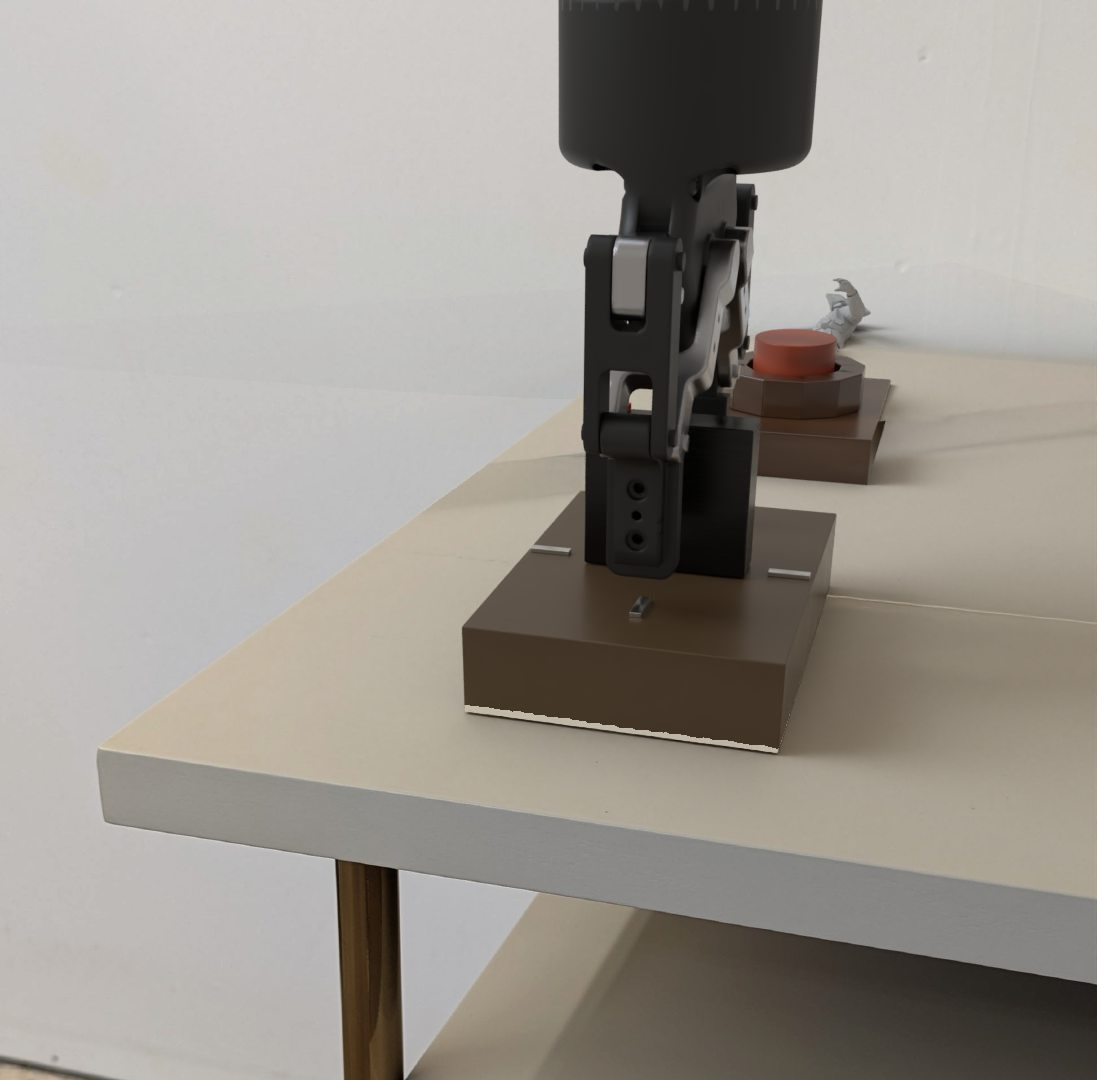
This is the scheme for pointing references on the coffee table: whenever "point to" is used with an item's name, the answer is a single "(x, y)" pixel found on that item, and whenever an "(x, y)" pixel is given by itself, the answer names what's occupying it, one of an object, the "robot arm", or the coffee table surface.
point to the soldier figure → (842, 313)
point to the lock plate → (654, 634)
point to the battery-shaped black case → (697, 496)
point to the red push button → (794, 352)
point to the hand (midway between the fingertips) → (669, 530)
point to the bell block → (813, 421)
